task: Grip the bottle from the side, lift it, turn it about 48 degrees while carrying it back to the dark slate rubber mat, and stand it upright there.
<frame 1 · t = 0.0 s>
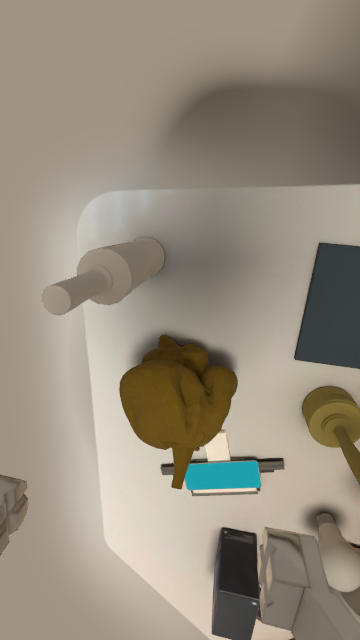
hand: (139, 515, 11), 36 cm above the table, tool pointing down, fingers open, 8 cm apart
phone stand: (219, 460, 53), on the table
bottle: (147, 255, 45), on the table
gourd: (185, 378, 50), on the table
lightbulb: (323, 514, 54), on the table
sculpture: (326, 406, 48), on the table
small box: (234, 550, 59), on the table
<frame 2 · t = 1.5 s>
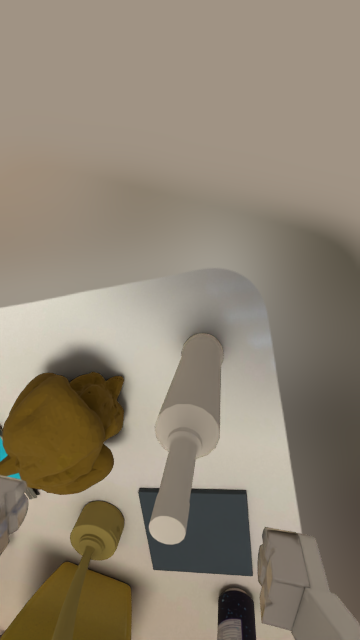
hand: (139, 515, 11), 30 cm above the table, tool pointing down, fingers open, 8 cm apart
slate mat: (197, 530, 50), on the table
phone stand: (9, 443, 51), on the table
flower pot: (91, 592, 59), on the table
bottle: (203, 349, 41), on the table
gourd: (83, 402, 47), on the table
sculpture: (104, 516, 53), on the table
beverage can: (236, 595, 54), on the table
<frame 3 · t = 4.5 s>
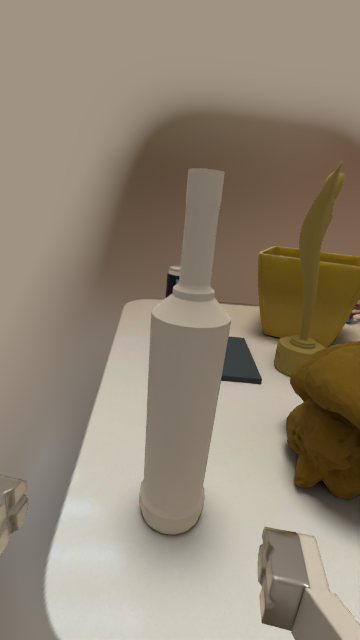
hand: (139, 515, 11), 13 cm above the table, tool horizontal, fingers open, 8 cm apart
slate mat: (203, 355, 55), on the table
flower pot: (297, 334, 70), on the table
bottle: (170, 509, 26), on the table
gourd: (350, 465, 33), on the table
sculpture: (295, 370, 53), on the table
hoverbike: (358, 321, 83), on the table
beverage can: (177, 325, 68), on the table
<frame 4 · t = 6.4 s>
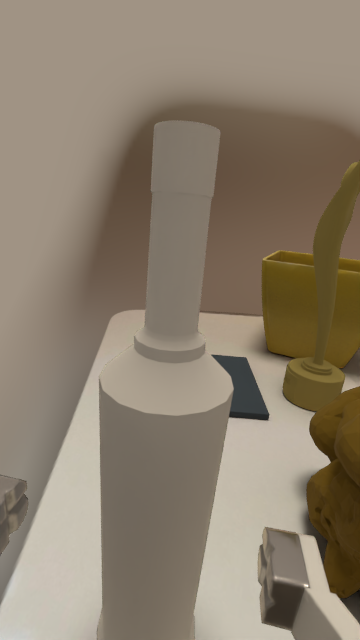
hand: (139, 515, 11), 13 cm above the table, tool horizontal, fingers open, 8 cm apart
slate mat: (199, 381, 46), on the table
flower pot: (306, 350, 62), on the table
sculpture: (308, 399, 45), on the table
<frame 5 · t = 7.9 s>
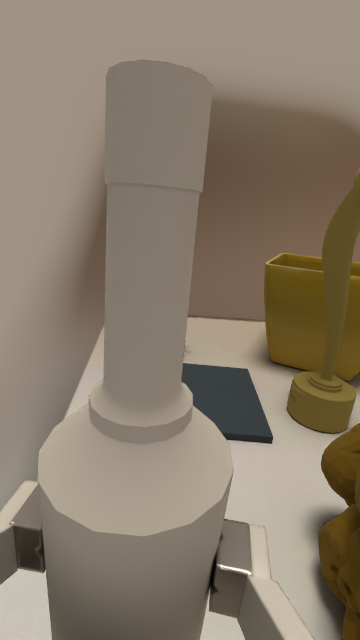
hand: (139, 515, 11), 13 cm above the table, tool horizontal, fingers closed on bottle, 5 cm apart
slate mat: (196, 396, 43), on the table
flower pot: (311, 359, 58), on the table
sculpture: (315, 417, 41), on the table
when the fingers open (14 cm above the table, at t = 20.6 s): bottle stays where it is, resting on slate mat.
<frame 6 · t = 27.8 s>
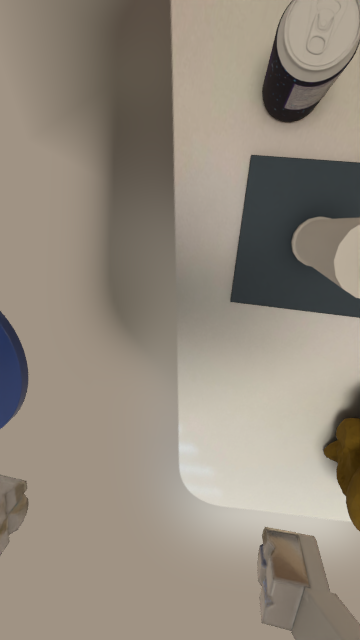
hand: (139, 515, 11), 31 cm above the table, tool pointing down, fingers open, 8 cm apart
slate mat: (311, 240, 36), on the table
bottle: (313, 241, 36), point 1 cm above the table, touching slate mat
beverage can: (290, 92, 33), on the table
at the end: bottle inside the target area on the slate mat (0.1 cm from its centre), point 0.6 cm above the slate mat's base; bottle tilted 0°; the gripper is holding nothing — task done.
